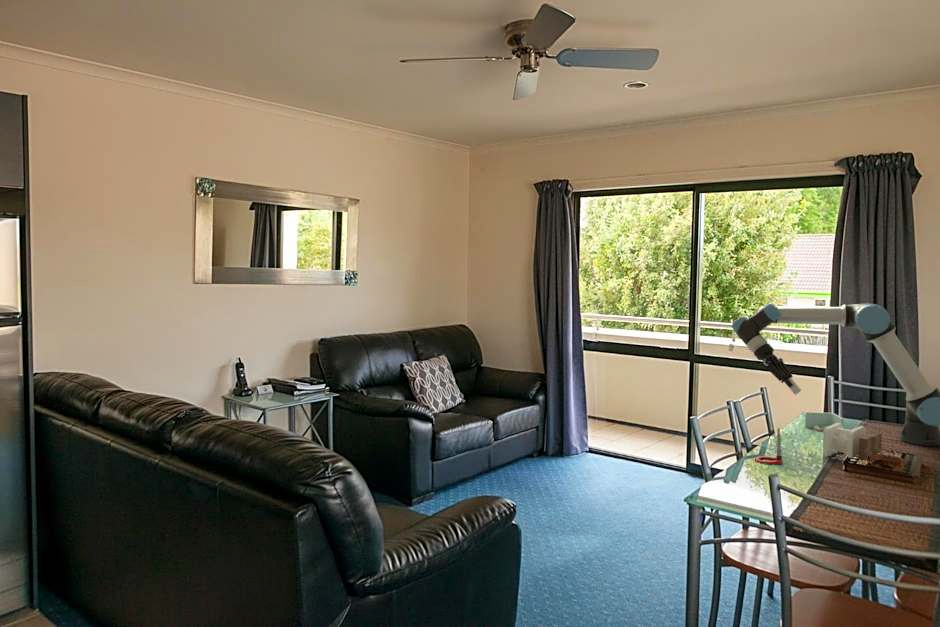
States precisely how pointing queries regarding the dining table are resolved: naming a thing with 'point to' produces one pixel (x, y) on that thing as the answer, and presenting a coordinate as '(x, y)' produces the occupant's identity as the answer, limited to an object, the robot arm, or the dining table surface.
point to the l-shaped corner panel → (821, 420)
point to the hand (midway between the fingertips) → (798, 392)
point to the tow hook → (778, 457)
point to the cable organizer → (842, 440)
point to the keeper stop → (869, 445)
